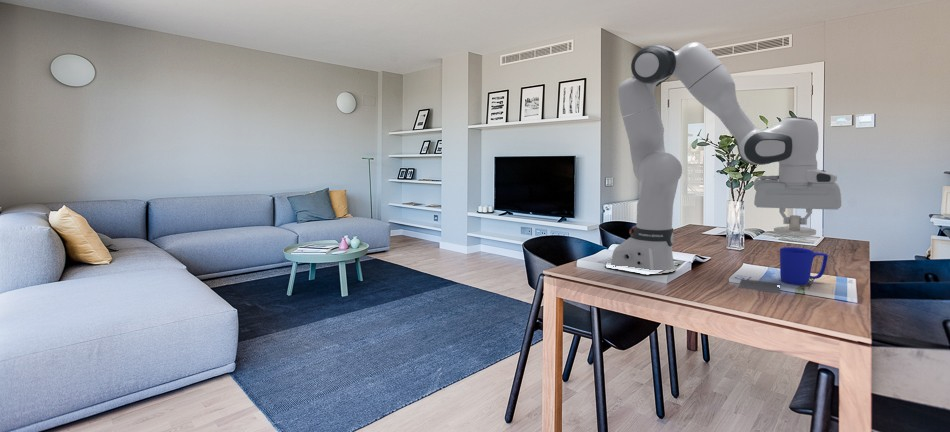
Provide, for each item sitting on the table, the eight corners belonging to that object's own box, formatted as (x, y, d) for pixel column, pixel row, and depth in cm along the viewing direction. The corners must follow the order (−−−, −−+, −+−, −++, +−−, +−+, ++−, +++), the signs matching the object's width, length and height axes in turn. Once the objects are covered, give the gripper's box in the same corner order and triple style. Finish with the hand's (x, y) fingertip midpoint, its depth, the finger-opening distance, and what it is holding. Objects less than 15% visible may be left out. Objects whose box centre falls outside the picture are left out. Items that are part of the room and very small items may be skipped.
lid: (772, 235, 131) (772, 218, 130) (774, 228, 139) (775, 212, 138) (815, 237, 125) (816, 220, 124) (816, 230, 133) (817, 213, 132)
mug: (832, 288, 131) (835, 253, 129) (784, 286, 133) (787, 252, 132) (817, 280, 139) (820, 247, 137) (772, 278, 141) (775, 246, 140)
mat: (738, 288, 132) (738, 287, 132) (741, 280, 140) (741, 278, 140) (779, 294, 126) (779, 292, 126) (780, 285, 135) (780, 283, 135)
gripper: (753, 176, 133) (751, 223, 135) (843, 176, 121) (840, 227, 123) (755, 175, 138) (753, 220, 140) (842, 174, 126) (839, 224, 128)
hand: (794, 224), depth 131 cm, fingers closed on lid, 3 cm apart
